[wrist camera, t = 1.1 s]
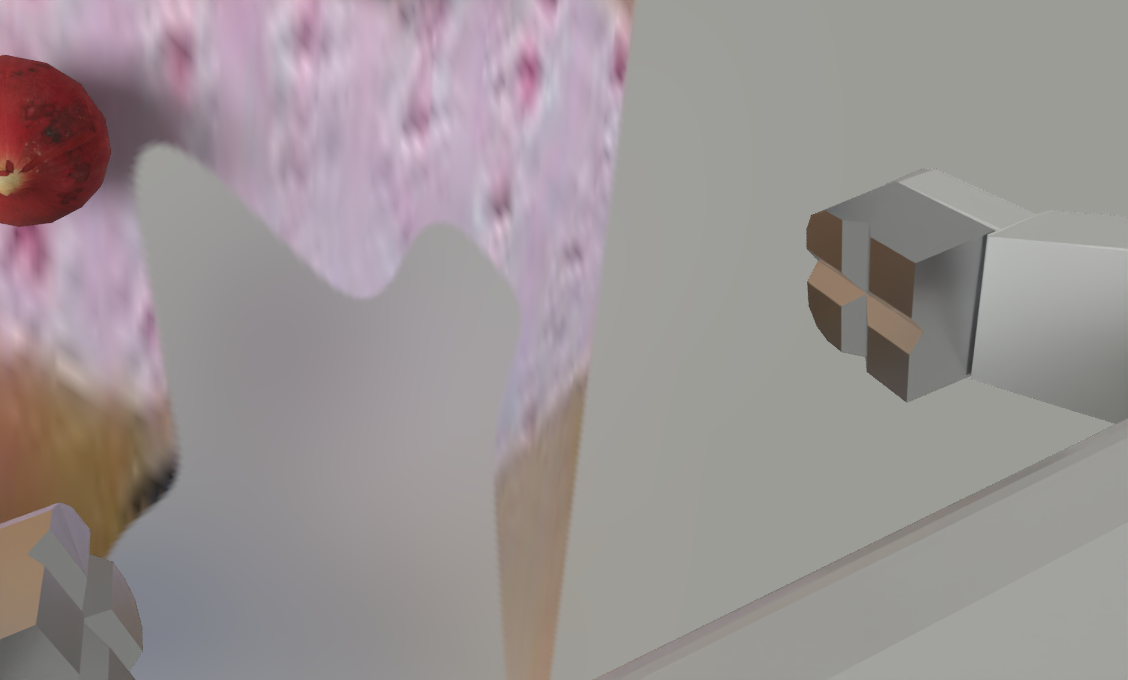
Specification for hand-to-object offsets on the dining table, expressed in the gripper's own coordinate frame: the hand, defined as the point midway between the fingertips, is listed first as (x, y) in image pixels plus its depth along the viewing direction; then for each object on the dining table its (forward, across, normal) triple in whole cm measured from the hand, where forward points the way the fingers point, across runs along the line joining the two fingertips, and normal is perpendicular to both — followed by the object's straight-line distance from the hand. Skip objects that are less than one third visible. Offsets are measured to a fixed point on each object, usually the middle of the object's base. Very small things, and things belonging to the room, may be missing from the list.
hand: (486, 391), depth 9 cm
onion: (+31, +10, +3) cm, 33 cm away
